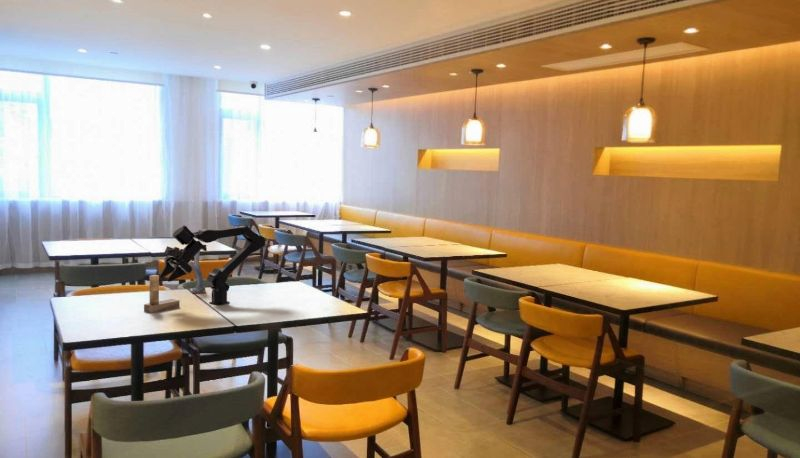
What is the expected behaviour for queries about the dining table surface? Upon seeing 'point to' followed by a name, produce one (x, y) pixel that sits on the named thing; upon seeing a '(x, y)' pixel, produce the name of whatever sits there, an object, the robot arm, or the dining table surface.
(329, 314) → the dining table surface
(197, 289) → the antler
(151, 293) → the oak rod
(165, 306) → the block
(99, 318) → the dining table surface
